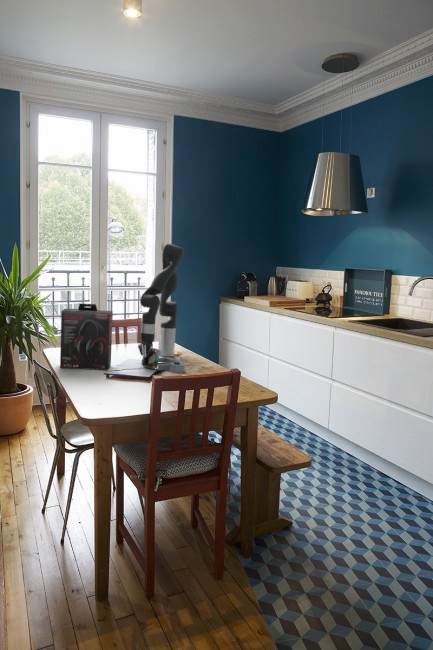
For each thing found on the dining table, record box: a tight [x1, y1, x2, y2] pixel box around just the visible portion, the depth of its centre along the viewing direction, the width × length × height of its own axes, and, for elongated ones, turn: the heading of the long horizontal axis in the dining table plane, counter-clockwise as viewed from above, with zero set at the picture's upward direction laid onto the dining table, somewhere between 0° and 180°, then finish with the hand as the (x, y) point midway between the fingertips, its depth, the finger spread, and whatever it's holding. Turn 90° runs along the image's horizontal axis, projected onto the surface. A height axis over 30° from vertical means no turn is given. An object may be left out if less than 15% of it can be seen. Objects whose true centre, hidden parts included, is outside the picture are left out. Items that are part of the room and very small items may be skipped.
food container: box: [141, 348, 161, 370], centre depth 272 cm, size 12×6×10 cm, turn 43°
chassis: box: [141, 356, 186, 374], centre depth 275 cm, size 24×16×4 cm
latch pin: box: [173, 351, 183, 364], centre depth 268 cm, size 4×4×6 cm
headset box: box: [59, 303, 114, 371], centre depth 260 cm, size 25×12×33 cm, turn 95°
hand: (145, 364), depth 270 cm, fingers closed
